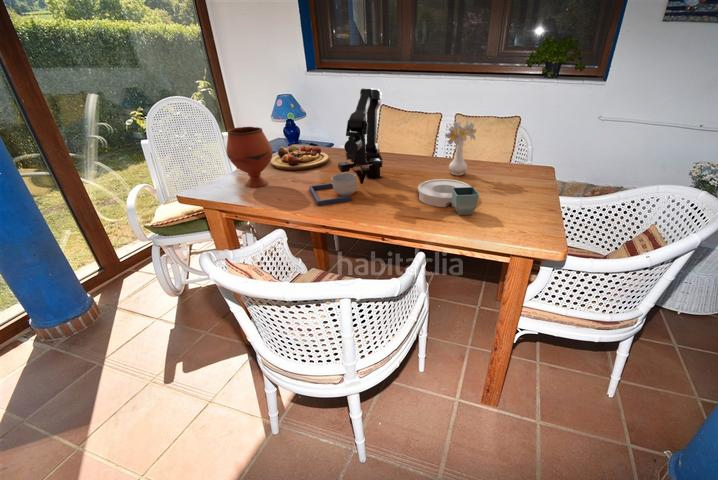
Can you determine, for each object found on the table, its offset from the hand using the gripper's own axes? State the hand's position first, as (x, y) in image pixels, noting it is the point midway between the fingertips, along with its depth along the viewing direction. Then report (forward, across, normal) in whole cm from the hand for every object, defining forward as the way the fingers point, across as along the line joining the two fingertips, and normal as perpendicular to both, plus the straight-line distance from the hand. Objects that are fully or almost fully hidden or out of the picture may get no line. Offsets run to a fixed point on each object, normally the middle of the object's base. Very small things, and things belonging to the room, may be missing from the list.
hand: (361, 183), depth 160 cm
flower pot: (+4, -30, +39) cm, 49 cm away
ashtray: (+4, -31, +21) cm, 38 cm away
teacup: (+3, +7, 0) cm, 8 cm away
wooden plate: (+3, +19, -56) cm, 59 cm away
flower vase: (+4, -52, -4) cm, 52 cm away
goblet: (+3, +44, -28) cm, 52 cm away
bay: (+3, +14, 0) cm, 15 cm away
